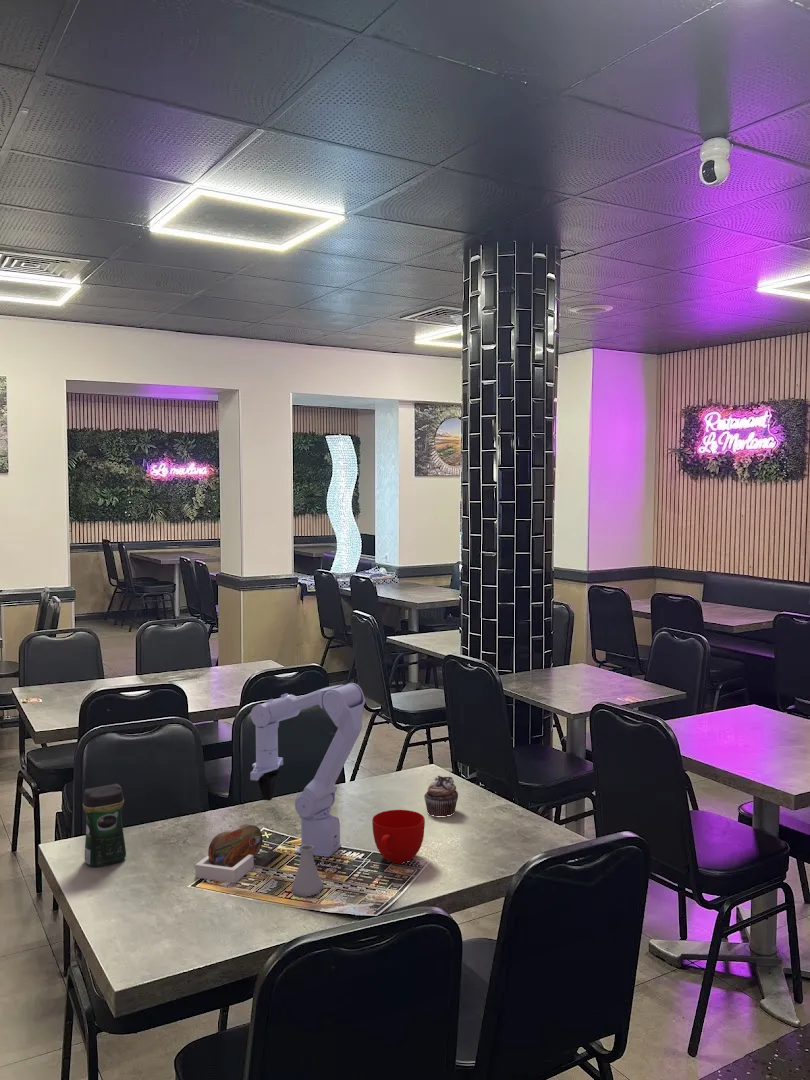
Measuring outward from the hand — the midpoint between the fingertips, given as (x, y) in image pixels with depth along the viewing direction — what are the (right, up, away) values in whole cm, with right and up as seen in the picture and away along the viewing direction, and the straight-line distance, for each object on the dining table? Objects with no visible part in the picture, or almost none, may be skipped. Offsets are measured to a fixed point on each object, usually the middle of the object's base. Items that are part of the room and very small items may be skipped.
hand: (267, 799), depth 226 cm
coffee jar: (-38, -11, -13) cm, 42 cm away
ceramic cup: (+34, -11, -15) cm, 39 cm away
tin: (-5, -11, -15) cm, 20 cm away
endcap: (-7, -11, -20) cm, 24 cm away
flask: (+14, -12, -31) cm, 36 cm away
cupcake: (+46, -10, +18) cm, 51 cm away
